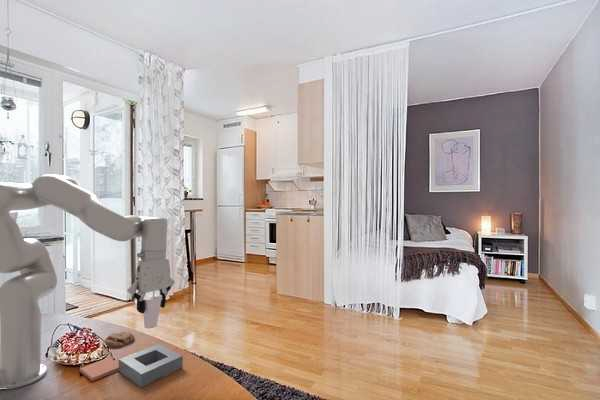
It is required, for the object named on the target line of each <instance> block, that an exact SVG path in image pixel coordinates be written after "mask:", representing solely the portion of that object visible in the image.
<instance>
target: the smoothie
mask: <svg viewBox="0 0 600 400" xmlns="http://www.w3.org/2000/svg"><path fill="white" fill-rule="evenodd" d="M143 300H144V301H145V312H144V313H142V315H143V325H144V328H145V329H154V328H157V326H158V322H159V321H158V320H159V315H160V310H161V309H160V308H161V307H160V304H161V300H162V295H160V293H156V291H152V293H150V294H145V297H144V299H143Z"/></svg>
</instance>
